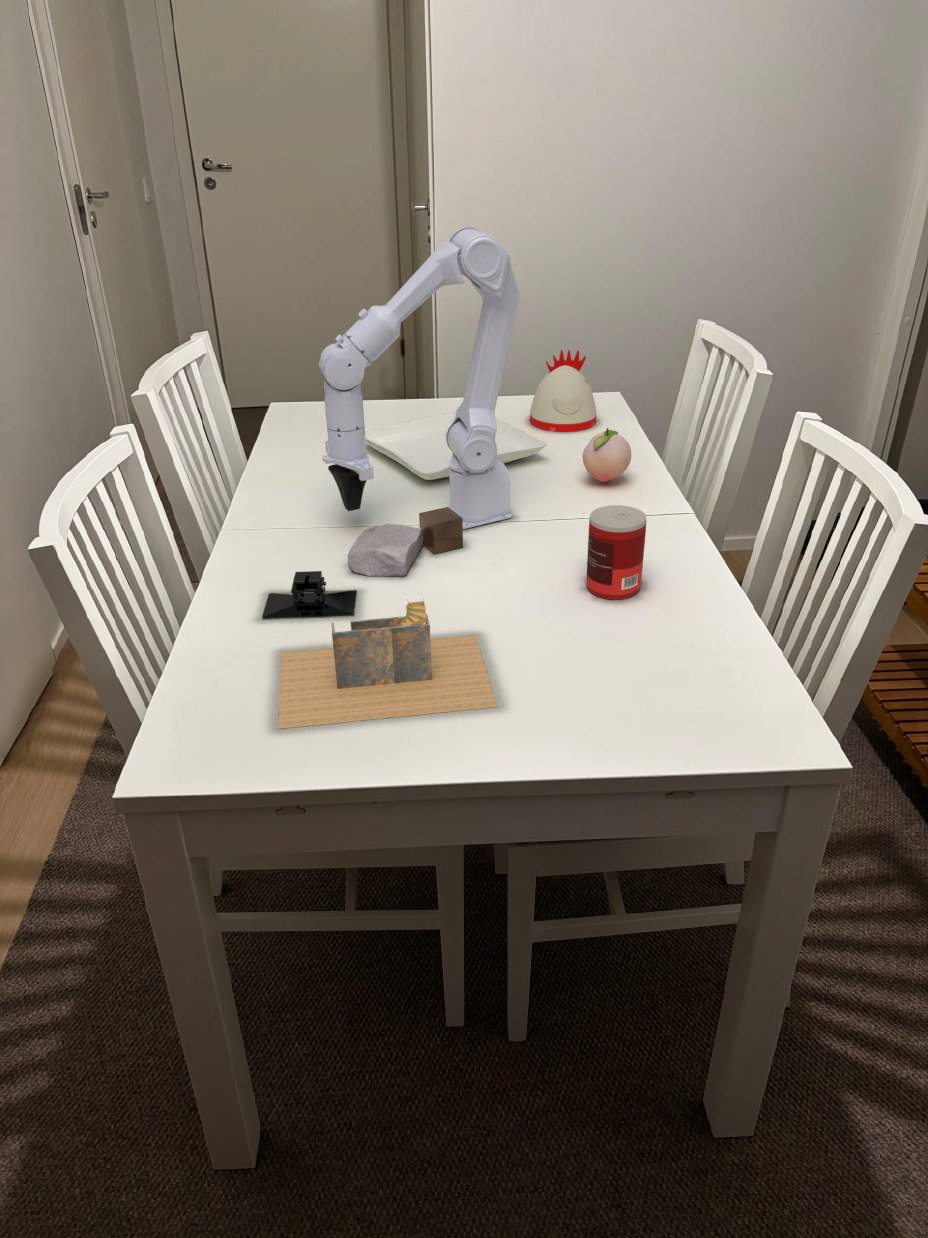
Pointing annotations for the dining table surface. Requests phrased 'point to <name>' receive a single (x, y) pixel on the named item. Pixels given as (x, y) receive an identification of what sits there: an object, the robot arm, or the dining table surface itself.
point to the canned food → (615, 551)
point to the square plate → (442, 444)
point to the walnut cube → (441, 530)
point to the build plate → (310, 599)
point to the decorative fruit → (607, 456)
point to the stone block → (385, 550)
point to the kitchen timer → (564, 398)
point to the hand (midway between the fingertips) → (352, 508)
